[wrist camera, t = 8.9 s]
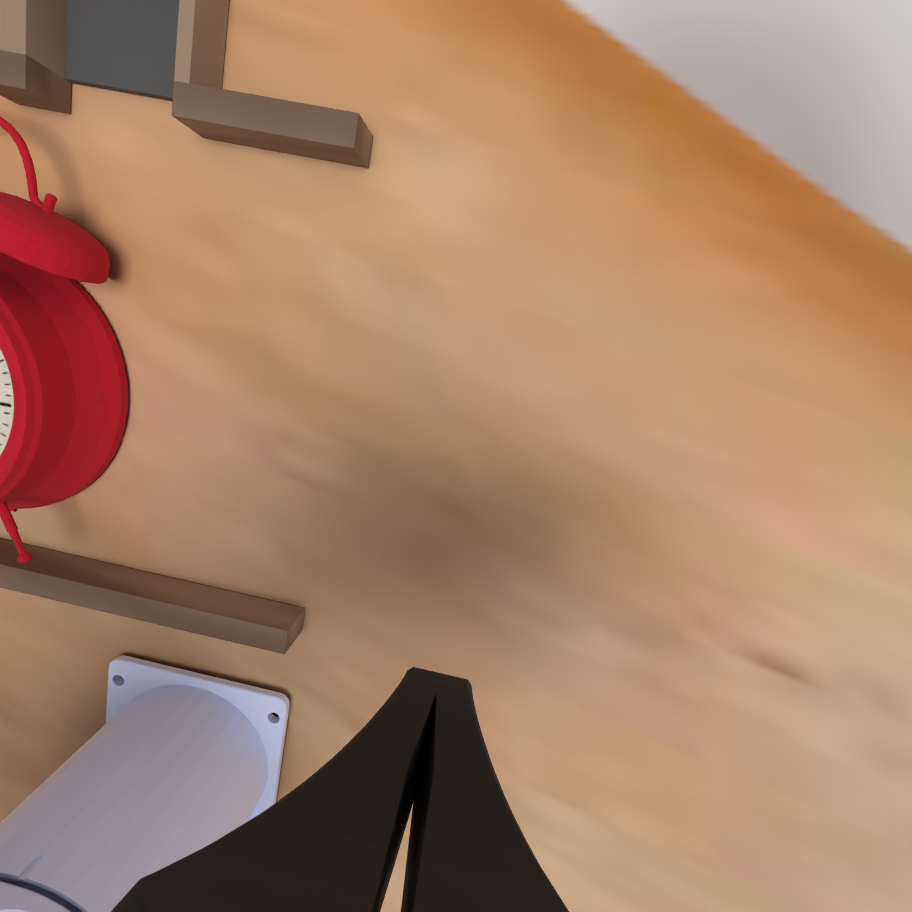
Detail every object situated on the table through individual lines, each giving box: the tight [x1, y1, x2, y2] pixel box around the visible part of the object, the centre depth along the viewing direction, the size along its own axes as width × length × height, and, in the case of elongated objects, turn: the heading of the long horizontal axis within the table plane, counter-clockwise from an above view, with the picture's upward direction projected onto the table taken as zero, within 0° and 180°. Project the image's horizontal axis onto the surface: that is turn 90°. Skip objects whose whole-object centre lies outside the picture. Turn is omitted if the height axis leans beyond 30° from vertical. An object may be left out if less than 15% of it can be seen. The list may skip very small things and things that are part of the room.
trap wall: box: [0, 50, 373, 654], centre depth 19 cm, size 19×21×2 cm
